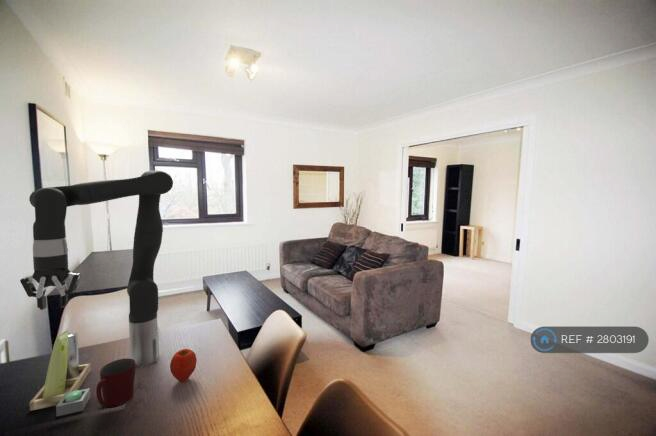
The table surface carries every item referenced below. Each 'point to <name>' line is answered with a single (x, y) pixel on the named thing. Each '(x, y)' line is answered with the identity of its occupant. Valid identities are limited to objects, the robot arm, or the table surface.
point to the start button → (74, 396)
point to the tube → (57, 367)
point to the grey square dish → (72, 404)
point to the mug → (116, 382)
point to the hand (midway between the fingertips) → (53, 307)
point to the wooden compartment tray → (70, 386)
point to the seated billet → (72, 356)
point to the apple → (183, 364)
